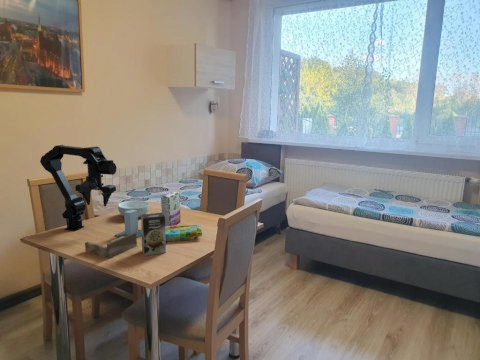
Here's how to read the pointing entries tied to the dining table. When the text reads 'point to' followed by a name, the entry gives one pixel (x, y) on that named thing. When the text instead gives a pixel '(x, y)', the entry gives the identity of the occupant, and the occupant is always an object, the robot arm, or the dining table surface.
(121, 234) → the rubber mat
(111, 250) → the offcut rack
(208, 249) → the dining table surface
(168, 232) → the puzzle game
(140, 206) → the cereal bowl
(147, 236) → the coffee box
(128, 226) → the tall block
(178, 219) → the candy bar box
